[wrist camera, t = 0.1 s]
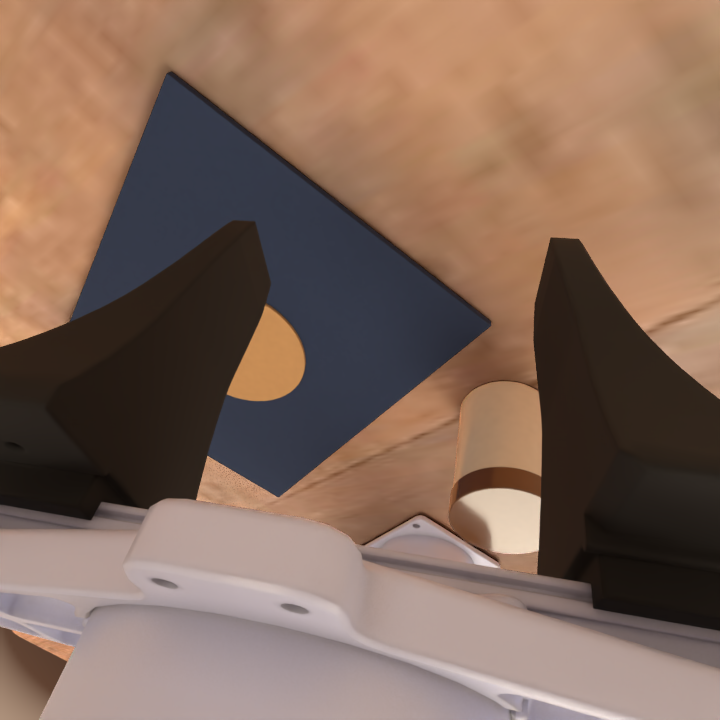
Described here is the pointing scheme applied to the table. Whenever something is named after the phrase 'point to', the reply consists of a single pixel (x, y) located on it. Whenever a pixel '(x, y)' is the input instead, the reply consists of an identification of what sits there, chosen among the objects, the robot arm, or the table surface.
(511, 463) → the jar
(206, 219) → the desk pad
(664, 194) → the table surface
